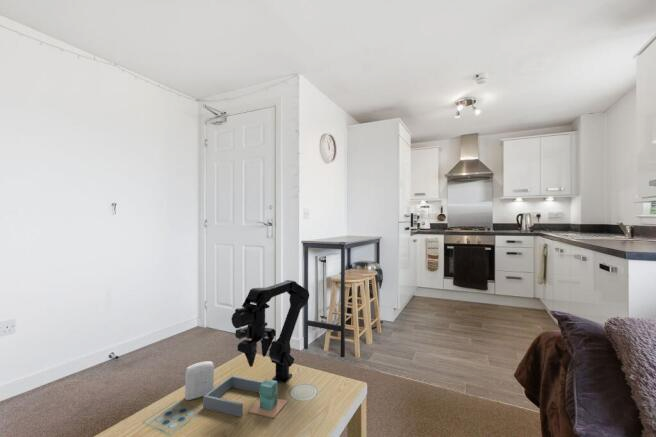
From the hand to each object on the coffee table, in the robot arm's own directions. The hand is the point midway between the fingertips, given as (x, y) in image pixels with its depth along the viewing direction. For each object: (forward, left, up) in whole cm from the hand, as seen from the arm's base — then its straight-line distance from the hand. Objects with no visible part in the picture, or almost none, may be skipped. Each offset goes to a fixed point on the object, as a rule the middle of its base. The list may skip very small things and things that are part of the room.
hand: (257, 361), depth 118 cm
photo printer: (+9, -20, -12) cm, 25 cm away
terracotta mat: (+7, +9, -12) cm, 17 cm away
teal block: (+7, +9, -12) cm, 16 cm away
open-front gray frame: (+7, -5, -12) cm, 15 cm away
